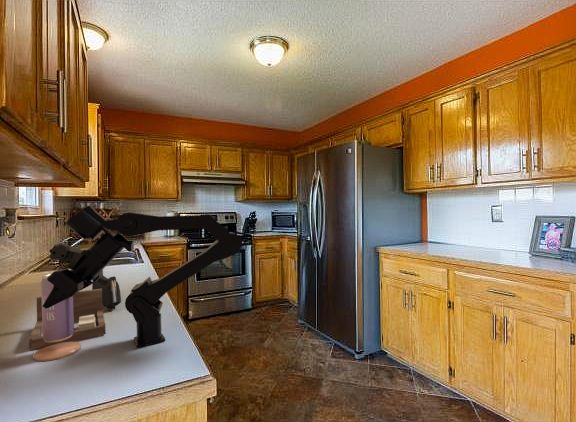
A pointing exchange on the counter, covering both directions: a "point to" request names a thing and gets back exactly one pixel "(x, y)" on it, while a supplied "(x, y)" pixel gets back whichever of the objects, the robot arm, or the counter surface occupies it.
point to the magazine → (108, 291)
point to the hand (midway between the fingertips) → (50, 303)
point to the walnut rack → (82, 306)
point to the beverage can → (56, 316)
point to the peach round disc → (57, 351)
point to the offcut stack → (87, 321)
